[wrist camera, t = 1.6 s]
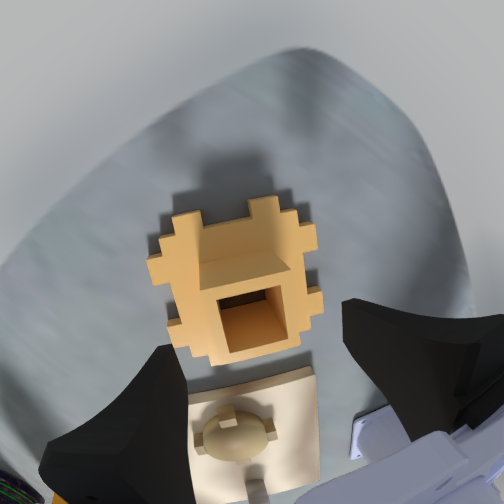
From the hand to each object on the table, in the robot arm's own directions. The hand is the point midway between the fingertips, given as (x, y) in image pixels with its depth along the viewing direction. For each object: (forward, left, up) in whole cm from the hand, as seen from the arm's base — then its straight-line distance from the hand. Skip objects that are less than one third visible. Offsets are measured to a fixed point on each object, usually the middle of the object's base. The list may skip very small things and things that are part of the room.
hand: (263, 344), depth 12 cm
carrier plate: (+3, +17, -7) cm, 19 cm away
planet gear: (0, 0, -7) cm, 7 cm away
